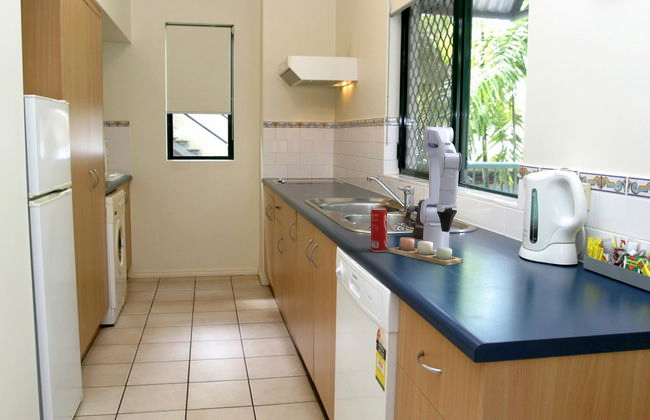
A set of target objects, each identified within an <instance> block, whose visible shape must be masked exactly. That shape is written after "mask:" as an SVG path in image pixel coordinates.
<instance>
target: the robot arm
mask: <svg viewBox="0 0 650 420" xmlns="http://www.w3.org/2000/svg"><path fill="white" fill-rule="evenodd" d="M422 140H423V141H422V142H423V151H424V152H426V153H427V154H428V160H429V161H428V168H429V169H428V197H427V198H425V199H423V200H424V201H423V202H422V204H421V210H420V221H421V222H422V223H423V224H424V232H423V239H422V241H429V242H433V251H432V252H435V253H436V250H437V248H449V249H451V247H449V244H450V231H451V227H452V224H453V220H454V218H455V216H456V214H457V213H458V210H457V208H458V201H457V200H458V190H459V189H458V187H459V175H460V174H459V172H460V171H461V169H462V163H463V159H462V154H461V152H457V151H456V147H455V145H454V144H453V141H454V130H453V128H452V126H451V127H450V126H449V127H446V126H445V127H443V126H428V125H426V126H425V127H424V129H423V139H422ZM428 206H434V207H428ZM417 249H418V246H417Z"/></svg>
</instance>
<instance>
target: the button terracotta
mask: <svg viewBox="0 0 650 420" xmlns="http://www.w3.org/2000/svg"><path fill="white" fill-rule="evenodd" d="M415 241H416V238H415V237H405V236H404V237H403V236H402V237H399V247H400V249H403V250H414V248H415Z"/></svg>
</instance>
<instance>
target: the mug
mask: <svg viewBox="0 0 650 420" xmlns="http://www.w3.org/2000/svg"><path fill="white" fill-rule="evenodd" d="M424 200H425V199H419V201H418V204H417V205H416V206H415V205H414V204H413V205H410V206H408V207H407V208H406V210H405V211H406V213H405V217H404V218H403V221H404V222H403V223H404V224H405V225H406V226H407V228H408V227H409V228H413V230H412V232H411V233H412V234H411V235H412V238H414V239H419V240H423V232H424V224H423V223H422V222H421V221H420V210H421V204H422V202H423V201H424ZM428 207H434V206H428ZM414 212H415V213H416V217H415V221H414V222H413V221H412V220H411V216H412V214H413V213H414Z"/></svg>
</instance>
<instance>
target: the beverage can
mask: <svg viewBox="0 0 650 420" xmlns="http://www.w3.org/2000/svg"><path fill="white" fill-rule="evenodd" d="M370 250H371V251H372V252H373V253H375V252H376V253H382V252H383V253H384V252H388V211H387V208H385V207H375V208H373V207H372V208H371V211H370Z"/></svg>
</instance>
